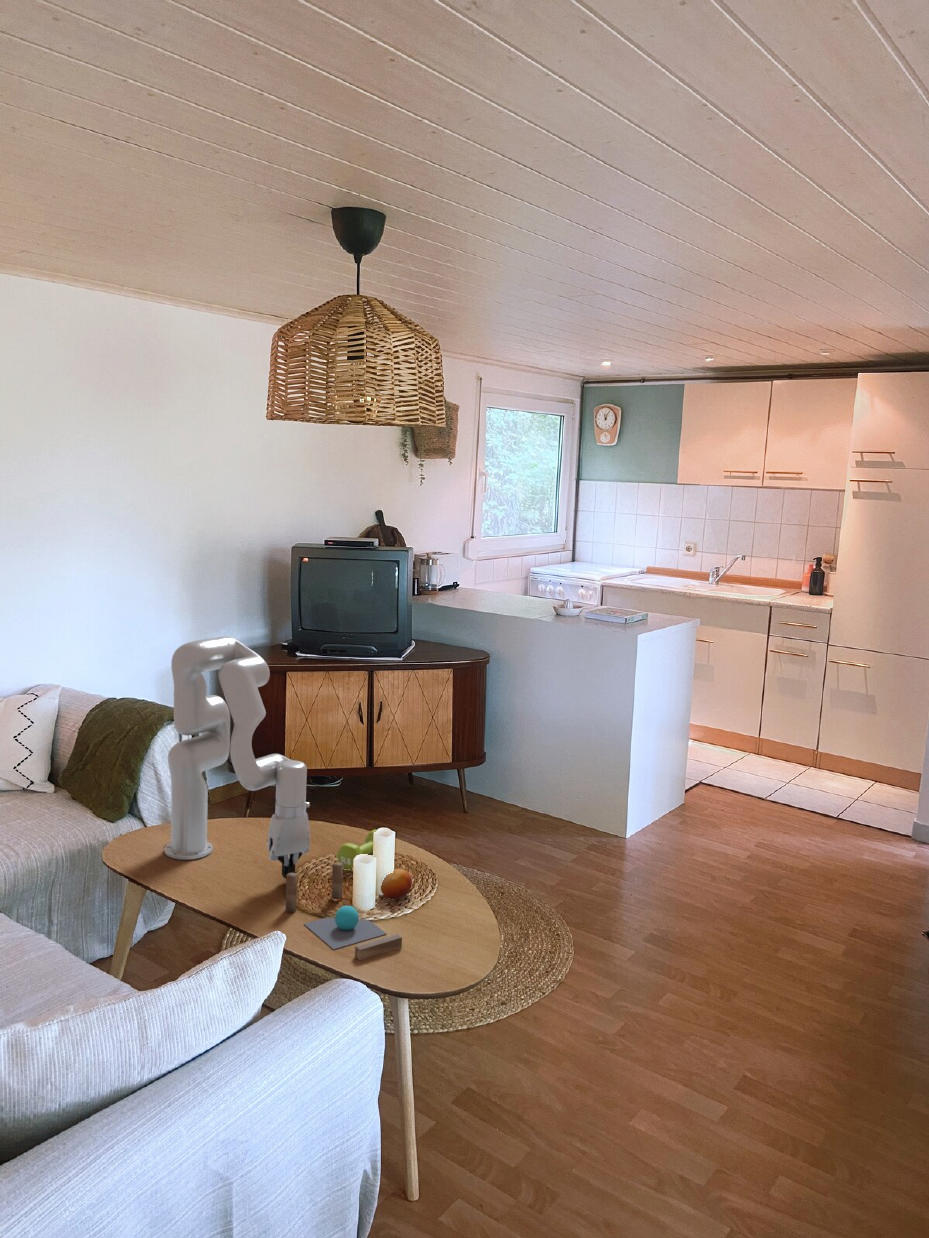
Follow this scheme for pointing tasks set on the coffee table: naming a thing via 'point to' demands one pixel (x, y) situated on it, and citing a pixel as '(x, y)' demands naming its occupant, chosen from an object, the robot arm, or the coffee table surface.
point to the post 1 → (291, 892)
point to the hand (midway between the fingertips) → (288, 877)
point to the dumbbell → (354, 851)
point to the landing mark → (343, 932)
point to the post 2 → (337, 880)
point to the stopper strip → (378, 947)
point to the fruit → (397, 884)
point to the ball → (346, 918)
